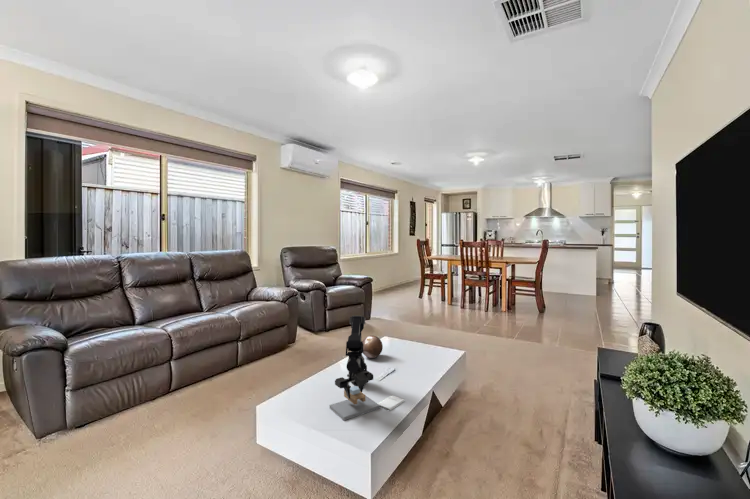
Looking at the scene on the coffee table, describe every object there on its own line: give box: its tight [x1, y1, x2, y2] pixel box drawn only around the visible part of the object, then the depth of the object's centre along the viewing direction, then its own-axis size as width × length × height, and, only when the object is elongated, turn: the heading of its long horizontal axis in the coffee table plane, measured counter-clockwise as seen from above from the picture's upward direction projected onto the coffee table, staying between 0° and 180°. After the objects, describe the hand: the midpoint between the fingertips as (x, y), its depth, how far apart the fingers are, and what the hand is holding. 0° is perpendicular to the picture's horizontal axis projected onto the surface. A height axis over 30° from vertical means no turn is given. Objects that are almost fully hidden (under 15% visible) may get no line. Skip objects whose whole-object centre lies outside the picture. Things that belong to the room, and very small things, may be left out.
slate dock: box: [329, 394, 381, 421], centre depth 167 cm, size 20×14×2 cm
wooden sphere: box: [362, 335, 383, 359], centre depth 239 cm, size 15×15×15 cm
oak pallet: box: [343, 390, 366, 404], centre depth 167 cm, size 6×10×3 cm, turn 34°
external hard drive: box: [377, 394, 405, 412], centre depth 172 cm, size 2×8×12 cm
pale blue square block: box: [350, 385, 360, 395], centre depth 167 cm, size 4×4×2 cm
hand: (354, 396), depth 167 cm, fingers closed on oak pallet, 6 cm apart
